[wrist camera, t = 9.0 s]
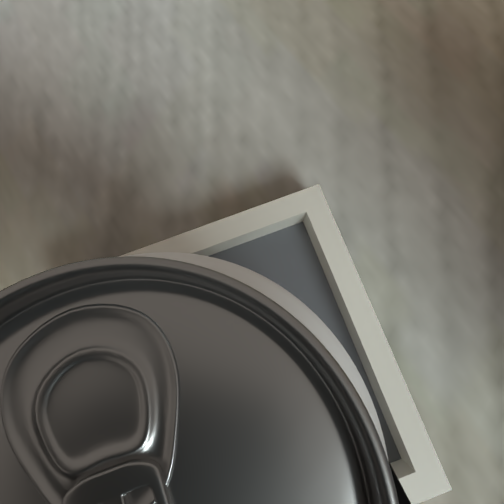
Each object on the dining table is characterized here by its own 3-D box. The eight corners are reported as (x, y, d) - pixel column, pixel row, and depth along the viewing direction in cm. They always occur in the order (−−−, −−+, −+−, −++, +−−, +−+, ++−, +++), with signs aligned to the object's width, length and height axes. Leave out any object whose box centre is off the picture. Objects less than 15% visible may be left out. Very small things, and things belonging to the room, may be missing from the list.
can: (272, 282, 16) (303, 142, 4) (328, 435, 15) (596, 833, 3) (128, 333, 16) (-258, 333, 4) (173, 495, 14) (-214, 1206, 3)
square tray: (138, 586, 15) (120, 624, 13) (62, 290, 18) (38, 285, 16) (429, 470, 16) (452, 489, 14) (313, 199, 19) (318, 183, 17)
